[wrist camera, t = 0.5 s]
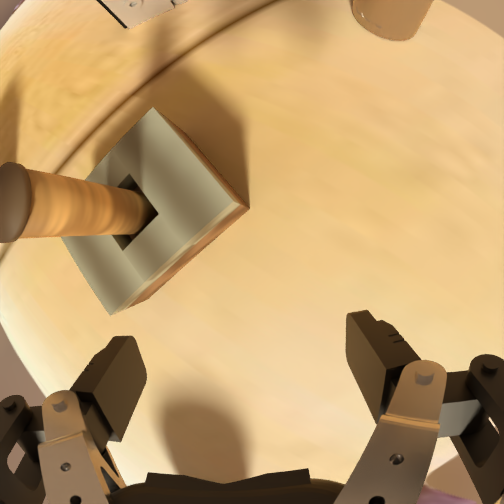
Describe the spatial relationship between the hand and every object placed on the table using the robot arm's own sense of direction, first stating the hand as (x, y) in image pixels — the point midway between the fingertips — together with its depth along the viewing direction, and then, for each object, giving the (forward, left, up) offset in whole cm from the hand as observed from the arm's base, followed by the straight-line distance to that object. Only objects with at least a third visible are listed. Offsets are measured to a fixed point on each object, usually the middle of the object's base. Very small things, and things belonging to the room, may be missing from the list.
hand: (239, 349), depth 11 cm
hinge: (-13, -41, -21) cm, 48 cm away
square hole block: (+6, -13, -21) cm, 26 cm away
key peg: (+6, -13, -16) cm, 22 cm away
